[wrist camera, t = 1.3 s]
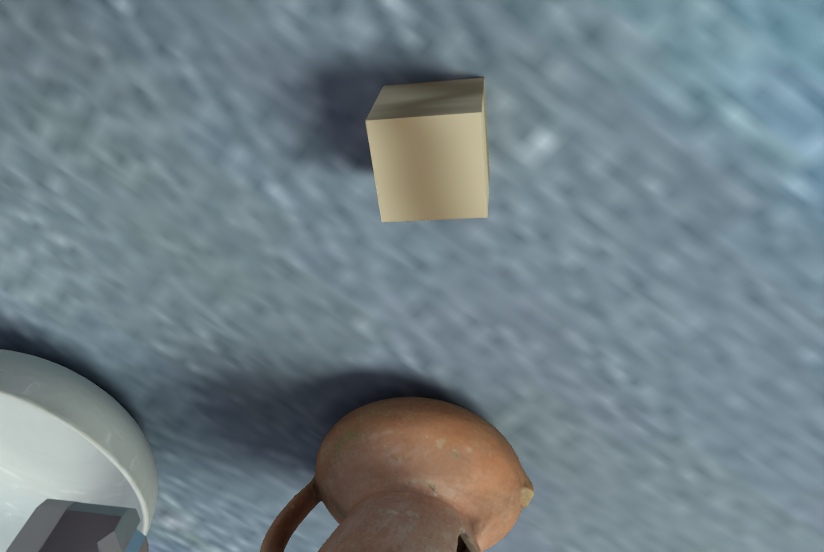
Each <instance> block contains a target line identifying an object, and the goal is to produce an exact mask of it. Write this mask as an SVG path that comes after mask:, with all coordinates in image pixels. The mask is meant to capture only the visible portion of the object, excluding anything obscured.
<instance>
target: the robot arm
mask: <svg viewBox="0 0 824 552" xmlns="http://www.w3.org/2000/svg"><path fill="white" fill-rule="evenodd" d="M140 521H141V520H140V517H139V515H138V512H137V510H136V509H135V508H126V507H117V506H108V505H99V504H90V503H81V502H77V501H67V500H57V499H46V500H45V501H44V502H42V503H41V504H40V505H39V506H38V507H36V509H35V510H34V512H33V513H32V514H31V516H30V517H29V519H28V520H27V522H26V523H25V524H24V526H23V527H22V529H21V530H20V532H19V533H18V535H17V536H16V537H15V539H14V540H13V542H12V543H11V545H10V546H9V547H8V549H7V550H6V552H148V542H147V538H146V536H145V535H144V534H143V533H141V532H140V531H139V530H138V529H137V527H138V525H139V523H140Z"/></svg>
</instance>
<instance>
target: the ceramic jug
mask: <svg viewBox="0 0 824 552" xmlns="http://www.w3.org/2000/svg"><path fill="white" fill-rule="evenodd" d="M533 495H534V489H533V485H532V483H531V481H530V480H529V478H528V476H527V475H526V473H525V471H524V470H523V468H522V466H521V464H520V461H519V459H518V457H517V455H516V453H515V451H514V450H513V448H512V446H511V445H510V444H509V442H508V441H507V440H506V438H505V437H504V436H503V435H502V434H501V433H500V432H499V431H498V430H497V429H496V428H495V427H494V426H492V425H491V424H490V423H489V422H487V421H486V420H484V419H483V418H481V417H480V416H478V415H476V414H475V413H473V412H471V411H469V410H467V409H465V408H462V407H460V406H457V405H455V404H452V403H448V402H445V401H441V400H436V399H431V398H423V397H397V398H388V399H383V400H378V401H374V402H371V403H368V404H366V405H363V406H361V407H359V408H356V409H354V410H353V411H351V412H349V413H348V414H346V415H345V416H344V417H342V418H341V419H340V420H339V421H337V422H336V424H335V425H334V426H333V427H332V428H331V429H330V430H329V432H328V433H327V434H326V436H325V437H324V439H323V441H322V443H321V445H320V448H319V451H318V454H317V459H316V474H315V476H314V478H313V480H312V481H311V482H310V483H309V484H308V485H307V486H306V487H305V488H303V489H302V490H301V491H300V492H299V493H298V494H297V495H295V496H294V498H293V499H292V500H291V501H290V502H289V503H288V504H287V505H286V507H285V508H284V509H283V510H282V511H281V512H280V514H279V515H278V516H277V518H276V519H275V520H274V522H273V523H272V525H271V527H270V528H269V530H268V532H267V533H266V536H265V538H264V540H263V543H262V546H261V550H260V552H284V549H285V547H286V545H287V543H288V541H289V539H290V537H291V535H292V534H293V532H294V531H295V530H296V528H297V527H298V525H299V524H300V523H301V522H302V521H303V519H304V518H305V517H306V516H307V515H308V514H309V512H310V511H311V510H312V509H313V508H314V507H315V506H316V505H317V504H318V503H319V502H320V501H322V502H323V503H324V504H325V506H326V508H327V509H328V511H329V512H330V513H331V515H332V516H333V517H334V519H335V520H336V521H337V522H338V523H339V524H340V525H339V526H338V527H337V528H336V529H335V531H334V532H333V533H332V534H331V536H330V537H329V538H328V539H327V540H326V542H325V543H324V544H323V546H322V547H321V548H320V549H319V551H318V552H482V551H484V550H486V549H488V548H490V547H491V546H493V545H494V544H496V543H497V542H499V541H500V540H501V539H502V538H503V537H504V536H505V535H506V534H507V533H508V532H509V531H510V530H511V528H512V527H513V525H514V524H515V522H516V520H517V518H518V516H519V514H520V512H521V510H522V508H524V507H527V506H528V504H529V502H530V500H531V499H532V497H533Z"/></svg>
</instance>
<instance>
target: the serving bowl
mask: <svg viewBox="0 0 824 552" xmlns="http://www.w3.org/2000/svg"><path fill="white" fill-rule="evenodd" d="M157 494H158V475H157V469H156V464H155V460H154V456H153V453H152V450H151V448H150V446H149V443H148V441H147V439H146V437H145V435H144V434H143V432H142V430H141V429H140V427H139V426H138V424H137V423H136V422H135V420H134V419H133V418H132V417H131V415H130V414H129V413H128V412H127V411H126V410H125V409H124V408H123V407H122V406H121V405H120V404H119V403H118V402H117V401H116V400H115V399H114V398H113V397H111V396H110V395H109V394H108V393H107V392H105V391H104V390H103V389H101V388H100V387H98V386H97V385H95V384H94V383H92V382H91V381H89V380H88V379H86V378H85V377H83V376H81V375H79V374H77V373H75V372H73V371H71V370H69V369H67V368H65V367H63V366H61V365H59V364H56V363H54V362H51V361H48V360H46V359H43V358H39V357H36V356H33V355H29V354H25V353H20V352H15V351H10V350H3V349H0V552H6V550H7V549H8V547H9V546H10V545H11V543H12V542H13V540H14V539H15V537H16V536H17V535H18V533H19V532H20V530H21V529H22V527H23V526H24V524H25V523H26V522H27V520H28V519H29V517H30V516H31V514H32V513H33V512H34V510H35V509H36V507H38V506H39V505H40V504H41V503H42V502H44V501H45V500H46V499H57V500H67V501H77V502H81V503H90V504H99V505H108V506H117V507H126V508H135V509H136V510H137V512H138V515H139V517H140V520H141V521H140V523H139V525H138V527H137V529H138V530H139V531H140V532H141V533H143V534H144V535H145V536H146V535H147V533H148V530H149V527H150V524H151V521H152V518H153V515H154V511H155V507H156V501H157Z"/></svg>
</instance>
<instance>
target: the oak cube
mask: <svg viewBox="0 0 824 552" xmlns="http://www.w3.org/2000/svg"><path fill="white" fill-rule="evenodd" d="M365 121H366V128H367V134H368V140H369V146H370V152H371V158H372V165H373V171H374V177H375V183H376V189H377V195H378V201H379V208H380V214H381V220H382V222H396V221H418V220H440V219H462V218H485V217H488V195H489V154H488V135H487V116H486V97H485V78H471V79H459V80H447V81H435V82H422V83H410V84H398V85H385V86H383V87H382V89H381V91H380V93H379V95H378V97H377V99H376V101H375V103H374V105H373V107H372V109H371V111H370V113H369V115H368V116H367V118H366V120H365Z"/></svg>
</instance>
